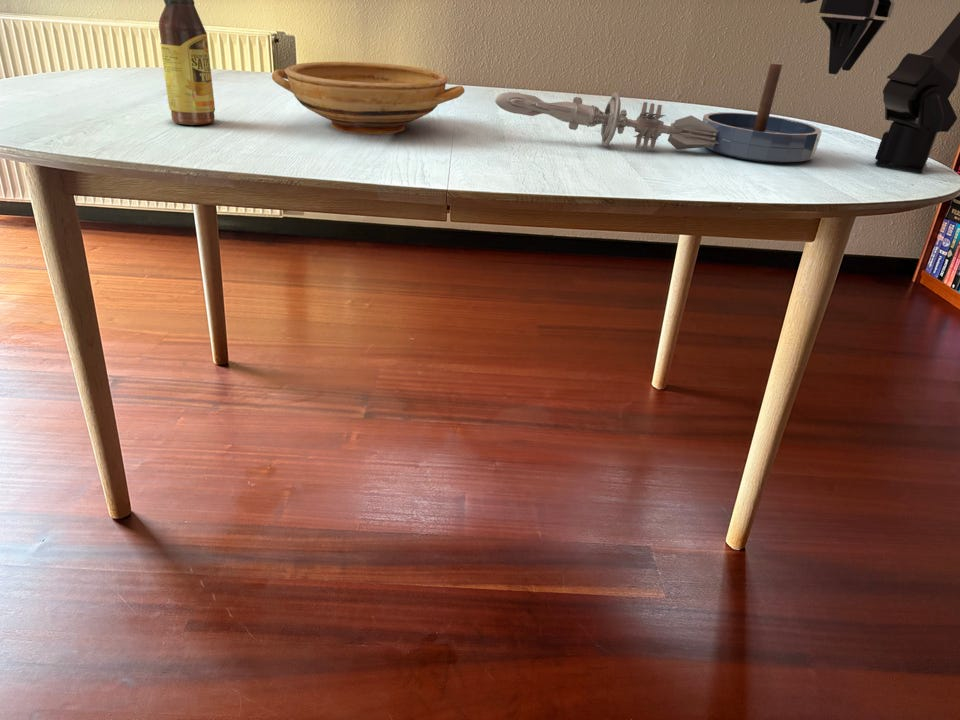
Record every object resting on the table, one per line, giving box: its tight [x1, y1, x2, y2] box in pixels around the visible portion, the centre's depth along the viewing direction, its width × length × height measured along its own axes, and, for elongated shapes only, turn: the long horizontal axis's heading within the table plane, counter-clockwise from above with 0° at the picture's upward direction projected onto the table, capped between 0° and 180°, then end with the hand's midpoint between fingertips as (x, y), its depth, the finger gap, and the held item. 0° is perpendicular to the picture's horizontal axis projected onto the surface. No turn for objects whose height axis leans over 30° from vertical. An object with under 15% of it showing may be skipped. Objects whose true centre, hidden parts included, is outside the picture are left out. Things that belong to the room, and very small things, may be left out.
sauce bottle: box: [158, 0, 216, 126], centre depth 96 cm, size 7×6×20 cm
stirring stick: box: [753, 62, 783, 132], centre depth 106 cm, size 4×4×12 cm
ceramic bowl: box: [271, 61, 465, 135], centre depth 104 cm, size 30×24×8 cm
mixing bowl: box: [702, 111, 823, 164], centre depth 108 cm, size 18×18×4 cm
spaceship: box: [494, 91, 720, 152], centre depth 103 cm, size 8×35×8 cm
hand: (839, 72), depth 99 cm, fingers open, 9 cm apart
